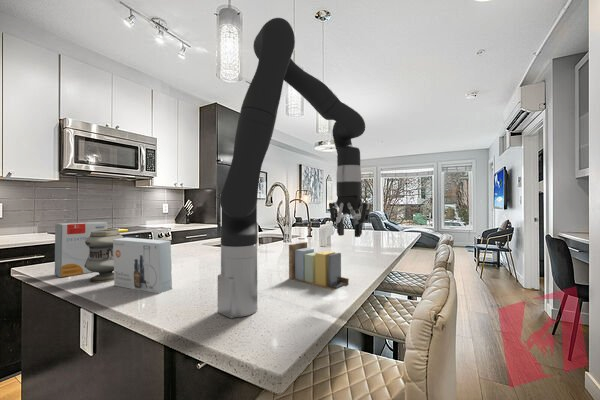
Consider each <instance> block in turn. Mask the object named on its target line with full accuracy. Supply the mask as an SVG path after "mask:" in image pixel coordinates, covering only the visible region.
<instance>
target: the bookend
mask: <svg viewBox="0 0 600 400" xmlns="http://www.w3.org/2000/svg"><path fill="white" fill-rule="evenodd" d="M341 277H342V252H335V254H331V255H328V287H331V288H335V290H337V289H336V288H338V289H340V288H342V287H341V286H343V287H345V286H347V285H346V283H344V282H341ZM344 285H345V286H344ZM339 287H340V288H339Z"/></svg>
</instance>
